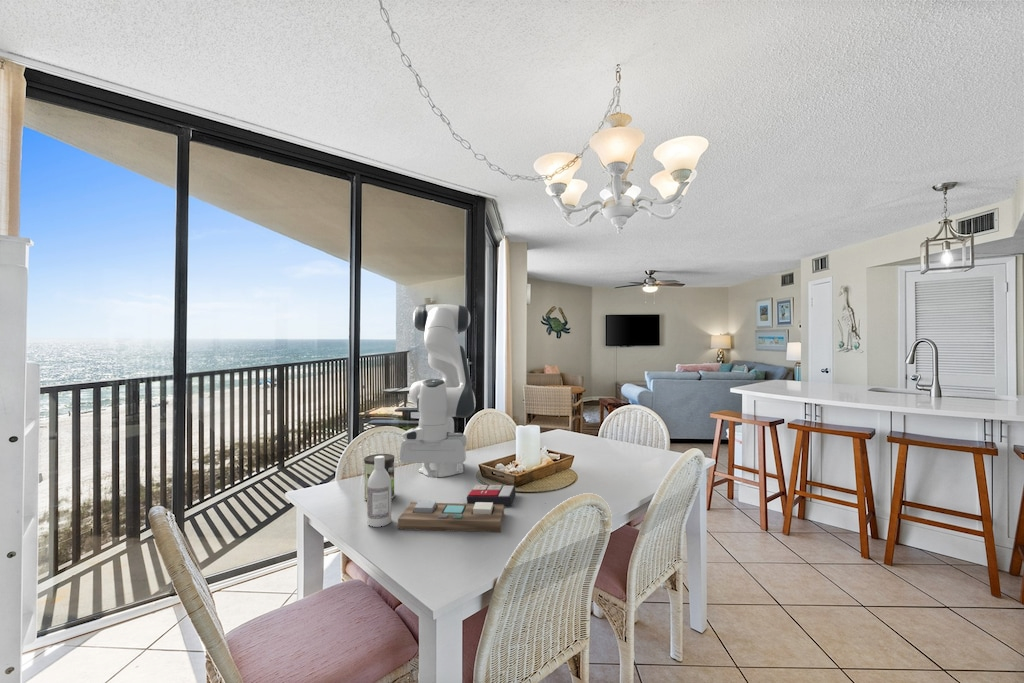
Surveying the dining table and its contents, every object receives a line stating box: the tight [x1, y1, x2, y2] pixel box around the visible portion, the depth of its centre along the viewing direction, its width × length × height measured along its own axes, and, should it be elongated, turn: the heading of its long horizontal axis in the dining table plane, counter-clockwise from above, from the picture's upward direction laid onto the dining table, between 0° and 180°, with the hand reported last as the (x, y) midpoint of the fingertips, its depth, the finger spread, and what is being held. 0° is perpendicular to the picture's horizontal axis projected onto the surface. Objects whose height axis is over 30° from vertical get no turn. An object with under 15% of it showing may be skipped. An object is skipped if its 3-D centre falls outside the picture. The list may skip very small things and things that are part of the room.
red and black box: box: [466, 484, 517, 508], centre depth 150 cm, size 11×4×15 cm
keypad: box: [397, 501, 505, 533], centre depth 132 cm, size 13×30×3 cm, turn 86°
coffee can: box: [363, 453, 395, 501], centre depth 152 cm, size 10×10×14 cm
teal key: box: [443, 505, 465, 514], centre depth 133 cm, size 6×6×2 cm
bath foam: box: [366, 456, 392, 528], centre depth 131 cm, size 7×7×20 cm
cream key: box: [473, 502, 493, 515], centre depth 133 cm, size 6×6×2 cm
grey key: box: [414, 500, 437, 513], centre depth 134 cm, size 6×6×2 cm
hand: (433, 476), depth 134 cm, fingers closed
